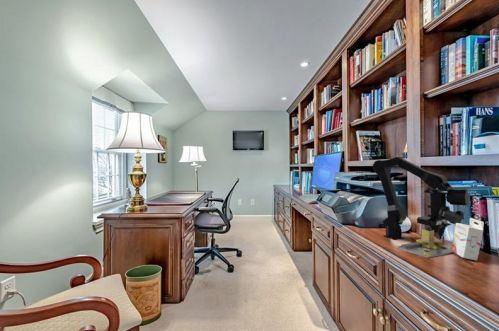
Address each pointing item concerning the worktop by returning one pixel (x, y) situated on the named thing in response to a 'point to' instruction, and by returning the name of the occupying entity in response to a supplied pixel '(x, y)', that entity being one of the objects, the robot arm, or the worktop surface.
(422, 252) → the flange plate
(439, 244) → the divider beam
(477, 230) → the ink cartridge box
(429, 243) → the slider
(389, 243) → the worktop surface
